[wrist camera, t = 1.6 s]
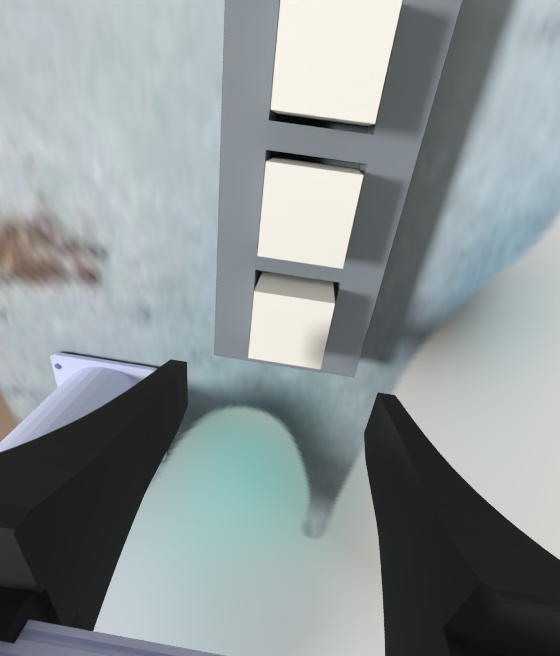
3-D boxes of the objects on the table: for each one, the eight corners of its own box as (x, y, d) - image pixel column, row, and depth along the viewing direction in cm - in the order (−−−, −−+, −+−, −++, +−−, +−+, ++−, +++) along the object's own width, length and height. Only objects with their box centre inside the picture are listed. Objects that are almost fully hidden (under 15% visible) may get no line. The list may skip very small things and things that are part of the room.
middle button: (339, 249, 18) (342, 268, 15) (266, 238, 18) (257, 255, 15) (356, 168, 16) (363, 175, 13) (274, 157, 16) (266, 161, 13)
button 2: (365, 126, 15) (374, 124, 12) (279, 114, 15) (270, 109, 12) (389, 11, 13) (406, -21, 10) (290, -2, 13) (283, -36, 11)
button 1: (320, 339, 20) (320, 369, 18) (257, 329, 20) (247, 357, 18) (332, 280, 18) (335, 303, 16) (263, 269, 19) (254, 291, 16)
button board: (350, 353, 22) (354, 377, 20) (224, 334, 23) (214, 355, 20) (452, -23, 14) (477, -54, 11) (242, -50, 14) (227, -85, 12)
